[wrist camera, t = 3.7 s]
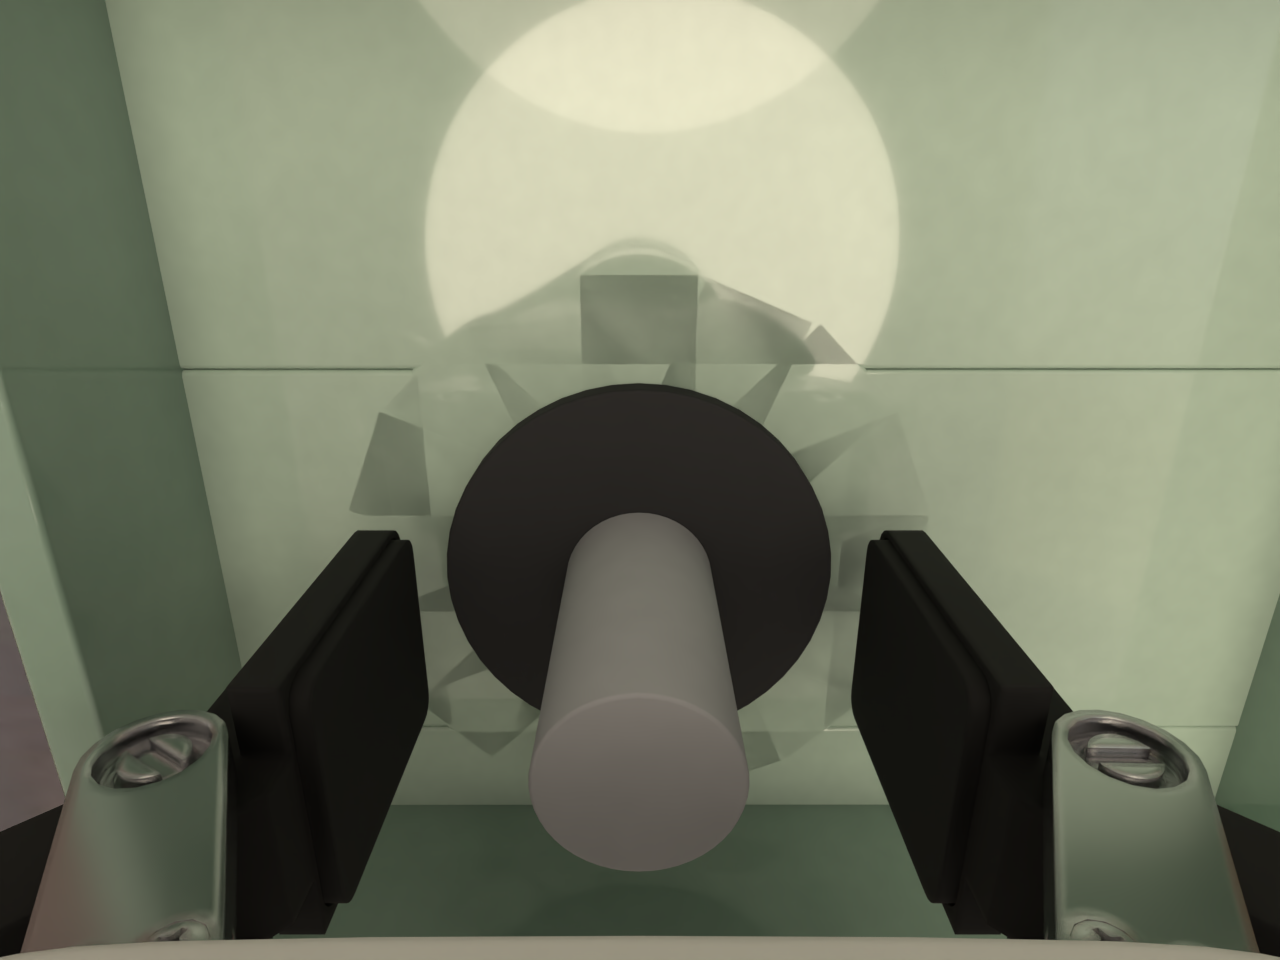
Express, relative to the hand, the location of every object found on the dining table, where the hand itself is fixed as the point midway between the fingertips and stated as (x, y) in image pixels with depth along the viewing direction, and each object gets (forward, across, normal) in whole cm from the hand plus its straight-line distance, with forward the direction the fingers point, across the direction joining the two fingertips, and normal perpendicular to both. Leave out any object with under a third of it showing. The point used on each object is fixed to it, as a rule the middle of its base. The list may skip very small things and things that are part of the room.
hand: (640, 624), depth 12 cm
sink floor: (+3, +2, +2) cm, 4 cm away
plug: (+3, 0, 0) cm, 3 cm away
